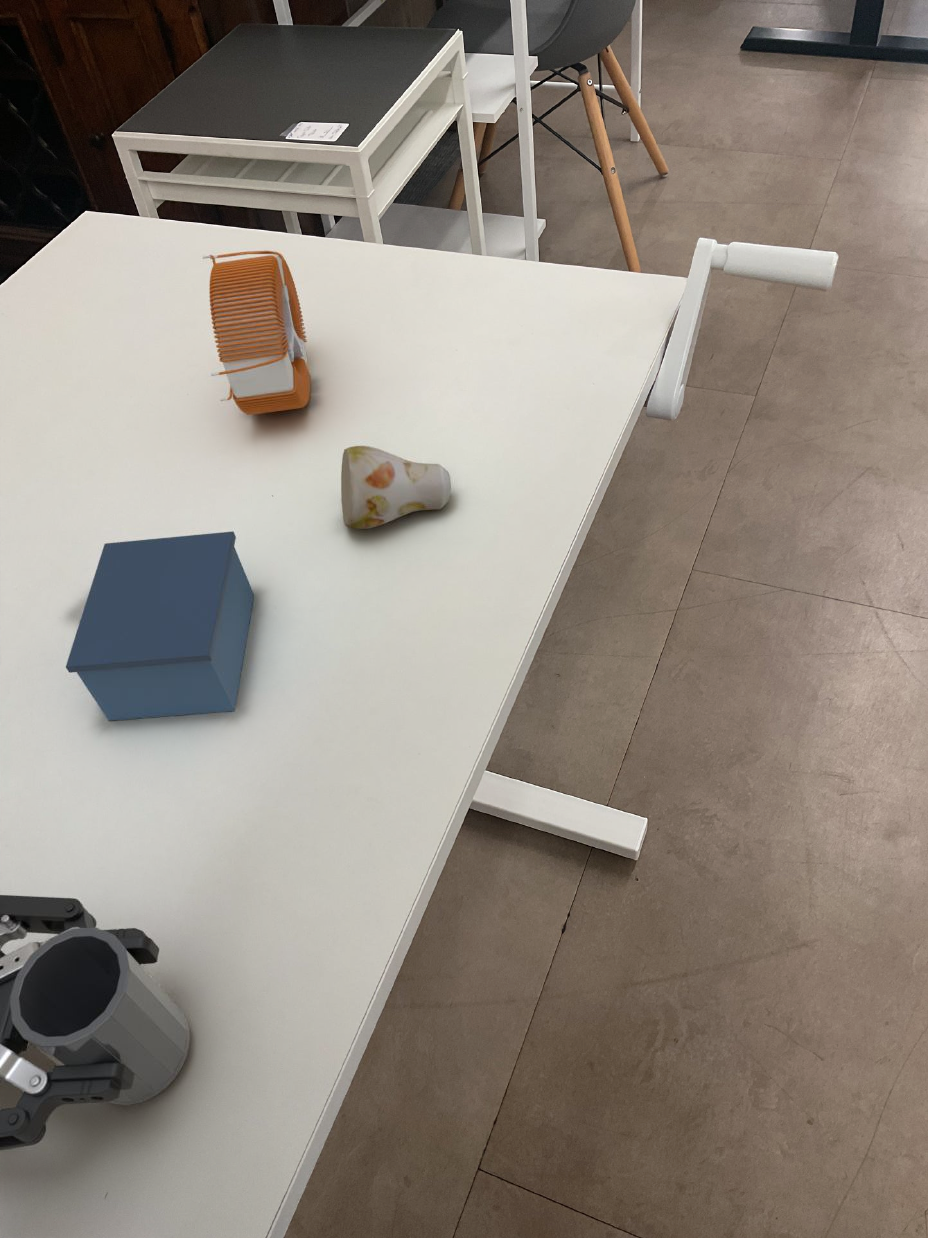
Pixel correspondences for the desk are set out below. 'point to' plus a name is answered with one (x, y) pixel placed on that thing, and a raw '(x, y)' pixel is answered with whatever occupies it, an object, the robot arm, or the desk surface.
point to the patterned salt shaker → (388, 487)
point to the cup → (100, 1011)
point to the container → (164, 627)
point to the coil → (259, 332)
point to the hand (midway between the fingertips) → (140, 1009)
